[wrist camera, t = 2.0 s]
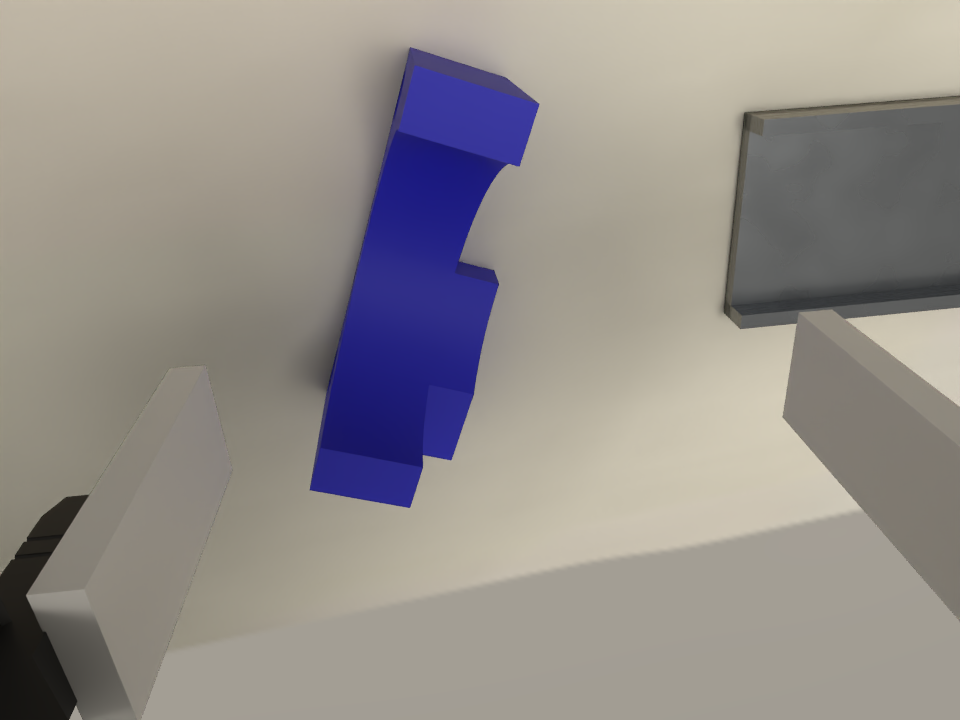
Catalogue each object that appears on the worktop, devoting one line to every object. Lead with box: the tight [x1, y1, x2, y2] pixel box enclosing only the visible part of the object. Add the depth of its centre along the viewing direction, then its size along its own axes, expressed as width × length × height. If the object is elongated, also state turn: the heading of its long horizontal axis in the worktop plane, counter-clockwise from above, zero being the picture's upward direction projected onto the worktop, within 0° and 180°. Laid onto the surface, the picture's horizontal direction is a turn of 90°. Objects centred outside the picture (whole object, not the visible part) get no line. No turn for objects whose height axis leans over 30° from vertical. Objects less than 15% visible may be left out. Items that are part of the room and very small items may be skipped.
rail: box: [724, 96, 960, 329], centre depth 25 cm, size 15×7×1 cm, turn 94°
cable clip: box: [310, 47, 539, 508], centre depth 22 cm, size 12×4×6 cm, turn 163°
